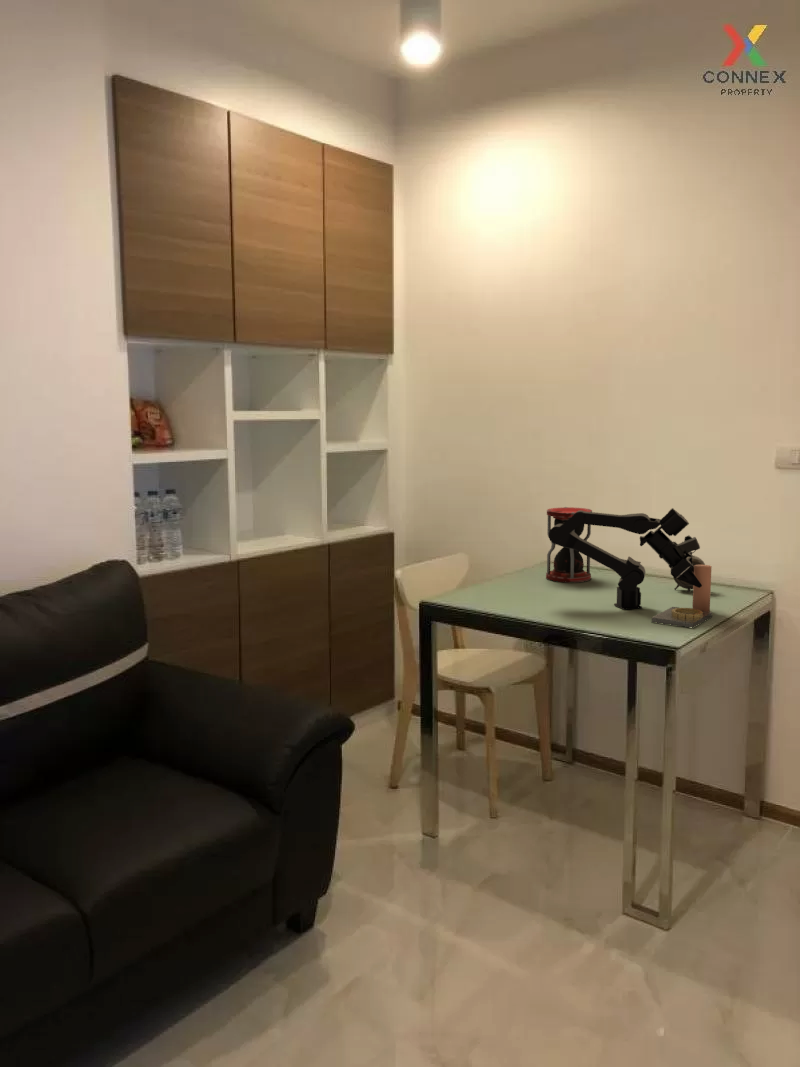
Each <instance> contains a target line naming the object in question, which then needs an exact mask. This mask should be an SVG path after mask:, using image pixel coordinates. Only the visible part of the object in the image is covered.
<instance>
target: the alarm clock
mask: <svg viewBox="0 0 800 1067" xmlns="http://www.w3.org/2000/svg"><path fill="white" fill-rule="evenodd" d="M696 551H697V550H694V551H691V552H689V553H690V554H691V556H692V565H693V566H694V565H706V563H705V562H704V561H703V560H702V558H700V557H698V556H696V555H693V554H694V553H695V552H696ZM691 556H690V557H691ZM690 557H687V559H689V558H690ZM672 577H673V576H672ZM673 580H674V581H675V583H676V586H675V587H674V590H677V589H678V588H679V587H681V588H683V589H686V590H687V593H691V590H693V585H691V584H689V583H687V582H684V581H682V580H679V579H676V578H674V577H673Z"/></svg>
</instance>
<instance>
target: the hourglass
mask: <svg viewBox="0 0 800 1067" xmlns="http://www.w3.org/2000/svg"><path fill="white" fill-rule="evenodd" d="M579 510H583V511H586V512H593V510H592V509H591V508H585V507H571V506H570V507H567V506H565V507H552V508H547V509H546V515H547V537H548V538H549V531H550V530H551V529H552V524H551V523H552V519H554V522H553V523H554V524H553V527H554V526H555V525H557V524H563V523H564V522H565V521H567V520H568V519H569V518H571V517H572V516H573V515H574V514H575V513H576V512H577V511H579ZM584 528H585V524H580V525H579V526H578V527H577V528H576V529H574V530H573V531H574V532H575V533H576V534H577V535H578V536H579V537H580V536H581V535H582V534H583V532H584ZM586 528H587V529H586V531H587V534H586V535H585V537H584V538H583V539H584V540H586V541H587V540H588V539H589V538H590V536H591V534H592V533H591V532H592V530H591V528H592V525H588V524H587V527H586ZM587 542H588V541H587ZM550 543H551V547H550V549H549V550H548V552H547V555H546V572H545V578H546V579H547V580H548V579H549V580H548V581H551V580H553V581H552V582H556V581H558V582H557V583H570V582H574V583H584V581H585V582H588V581H590V580H591V579H592V573H591V558H589V557H588V556H586V570H584V565H585V563H584V558H583V556H582V553H580V552H578V551H576V550H574V549H571V548H566V547H562V548H561V549H559V551H558V552H557V553H556V555H555V556H554V558H553V569H552V570H551V554H552V552H553V551H554V550H555V549H556V546H557V545H556V544H553V543H552V542H551V541H550Z"/></svg>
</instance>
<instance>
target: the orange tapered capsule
mask: <svg viewBox="0 0 800 1067" xmlns="http://www.w3.org/2000/svg"><path fill="white" fill-rule="evenodd" d="M712 568H713V567H712V566H711V565H710V564H709V565H708V564H705V565H694V574H695V576H696V577H697V579H698V580H699V581H700V583H701V584H702V586H701V587H700V588H698V587H696V586H694V585H693V589H692V608H693V609H698V610H701V611H707V612H711V592H712V590H711V589H712V588H711V587H712Z"/></svg>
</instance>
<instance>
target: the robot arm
mask: <svg viewBox="0 0 800 1067" xmlns="http://www.w3.org/2000/svg"><path fill="white" fill-rule="evenodd" d="M580 524H584V525H587V526H588V525H591V526H596V527H597V526H598V527H607V528H608V527H609V528H616V529H620V530H621V529H622V530H624V531H627V532H630V533H634V534H637V535H643V536H639V546H640V547H643V546H644V545H645V544H646V543H647V545H648V546H649V547H650V548H651V549H652V550H653V551H654V552H655V553H656V554H657V555H658V557H659V559H661V560H663V561H664V562H665V563H666V564H667V565H668V567H669V568H670V575H671V576H672V577H674V578H676V579H679V580H682V581H684V582H687V583H689V584H691V585H694V586H696V587H698V588H700V587H701V586H702V584H701V583H700V581H699V580H698V579H697V577H696V576H695V574H694V566H693V565H692V556H691V554H690V553H689V552H694V551H695V550H696V551H698V550H700V549H701V546H700V543H699V542H698V540H697V537H696V536H693V537H692V536H690V535H689V534H688V535H686V536H684V540H683V541H682V542H680V543H677V542H676V541H672V540H671V539H670V537H672V536H674V537H676V536H677V535H678V534H679V533H681V531H683V530H684V529H685V528H687V527H688V525H689V524H690V523H689V521H688V520H687V518H685V516H683V515H682V514H681V513H679V512H678V511H677V510H675V509H674V508H673V507H672V508H670V510H669V511H668V512H667V513H666V514H665V515H664V516H663V517H662V518H661V519H660V518H656V517H650V516H649V515H648V514H647V513H644V512H642V513H629V514H613V513H604V512H594V511H592V512H586V511H583V510H579V511H577V512H576V513H575V514H574V515H573V516H572V517H571V518H569V519H568V520H567V521H565V522H564V523H563V524H557V525H555V526H554V525H553V526H552V527H551V530H550V531H549V537H548V538H549V541H550V543H551V542H552V543H553V544H556V545H555V546H560V547H562V548H563V547H566V548H571V549H574V550H576V551H578V552H579V553H580V554H581V555H584V556H586V557H587V556H588V557H589V558H590V560H593V561H595V562H597V563H599V564H601V565H603V566H604V567H607V568H609V569H610V570H612V571H613V572H615V573H616V574H617V575H618V576H619V577H620V578H619V581H618V583H617V585H618V586H617V587H616V602H615V603H614V604H613V605H614V606H615V607H616V608H619V609H621V610H635V609H643V606H642V592H641V588H640V587H639V586H638V585H641V584H642V583H643V582H644V580H645V577H646V569H645V567H644V566H643V564H641V563H642V562H641V561H638V560H635V559H633V558H632V556H628V557H627V559H624V558H620V557H618V556H617V555H614V554H612V553H610V552H609V551H606V550H604V549H603V548H600V547H599V546H597V545H595V544H593V543H591V542H589V541H586V540H584V538H582V537H580V536H578V535H577V534H576V533H575V532H574V531H573V530H574V529H576V528H577V527H578V526H579V525H580ZM653 530H654V531H653ZM662 530H663V531H662ZM667 535H668V536H667ZM552 543H551V544H552ZM690 556H691V557H690ZM687 557H690V558H689V559H687ZM674 578H673V579H674Z"/></svg>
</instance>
